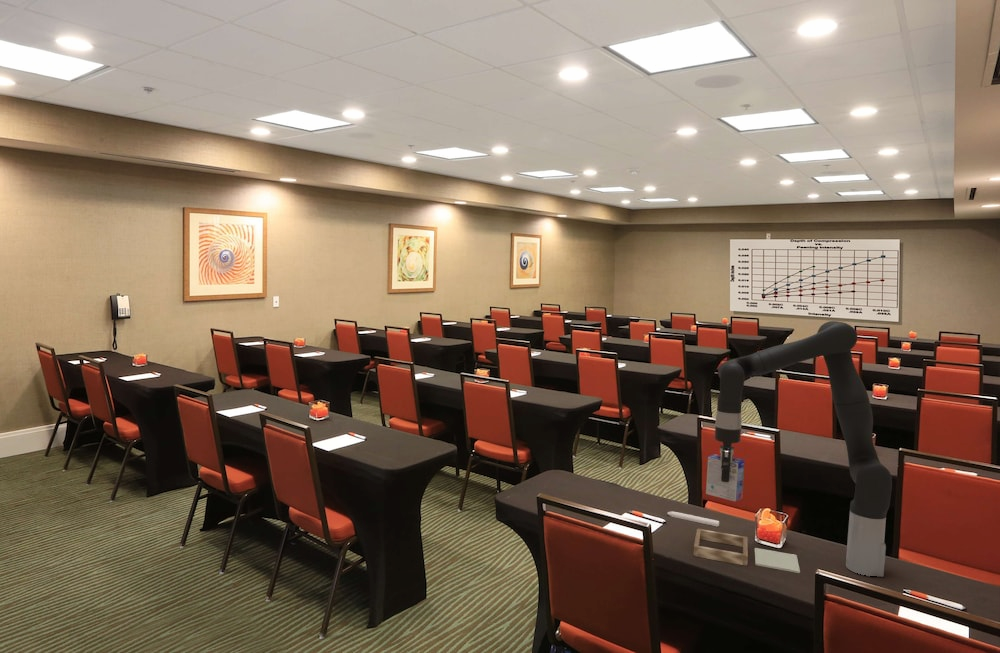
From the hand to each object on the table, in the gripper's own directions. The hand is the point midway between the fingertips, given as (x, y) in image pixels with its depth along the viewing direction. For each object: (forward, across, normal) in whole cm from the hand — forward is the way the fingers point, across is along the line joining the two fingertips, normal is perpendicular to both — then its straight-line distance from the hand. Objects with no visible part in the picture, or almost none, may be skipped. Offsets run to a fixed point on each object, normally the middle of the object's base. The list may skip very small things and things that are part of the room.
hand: (725, 478), depth 190 cm
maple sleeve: (+23, 0, 0) cm, 23 cm away
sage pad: (+23, 0, -16) cm, 28 cm away
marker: (+24, +23, +10) cm, 35 cm away
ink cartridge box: (+6, 0, 0) cm, 6 cm away
